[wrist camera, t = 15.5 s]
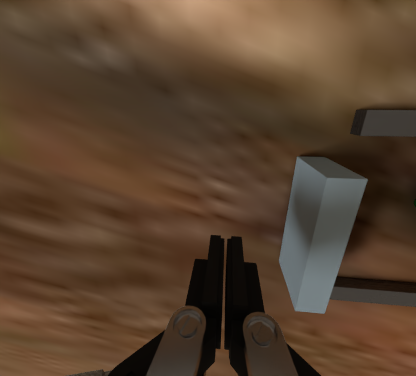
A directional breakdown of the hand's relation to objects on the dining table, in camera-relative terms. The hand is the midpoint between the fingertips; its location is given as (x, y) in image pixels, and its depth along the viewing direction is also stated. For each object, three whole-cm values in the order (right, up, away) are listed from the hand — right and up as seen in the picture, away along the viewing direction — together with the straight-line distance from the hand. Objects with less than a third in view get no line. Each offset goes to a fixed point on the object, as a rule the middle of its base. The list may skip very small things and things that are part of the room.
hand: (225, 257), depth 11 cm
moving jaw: (+7, +2, +6) cm, 9 cm away
